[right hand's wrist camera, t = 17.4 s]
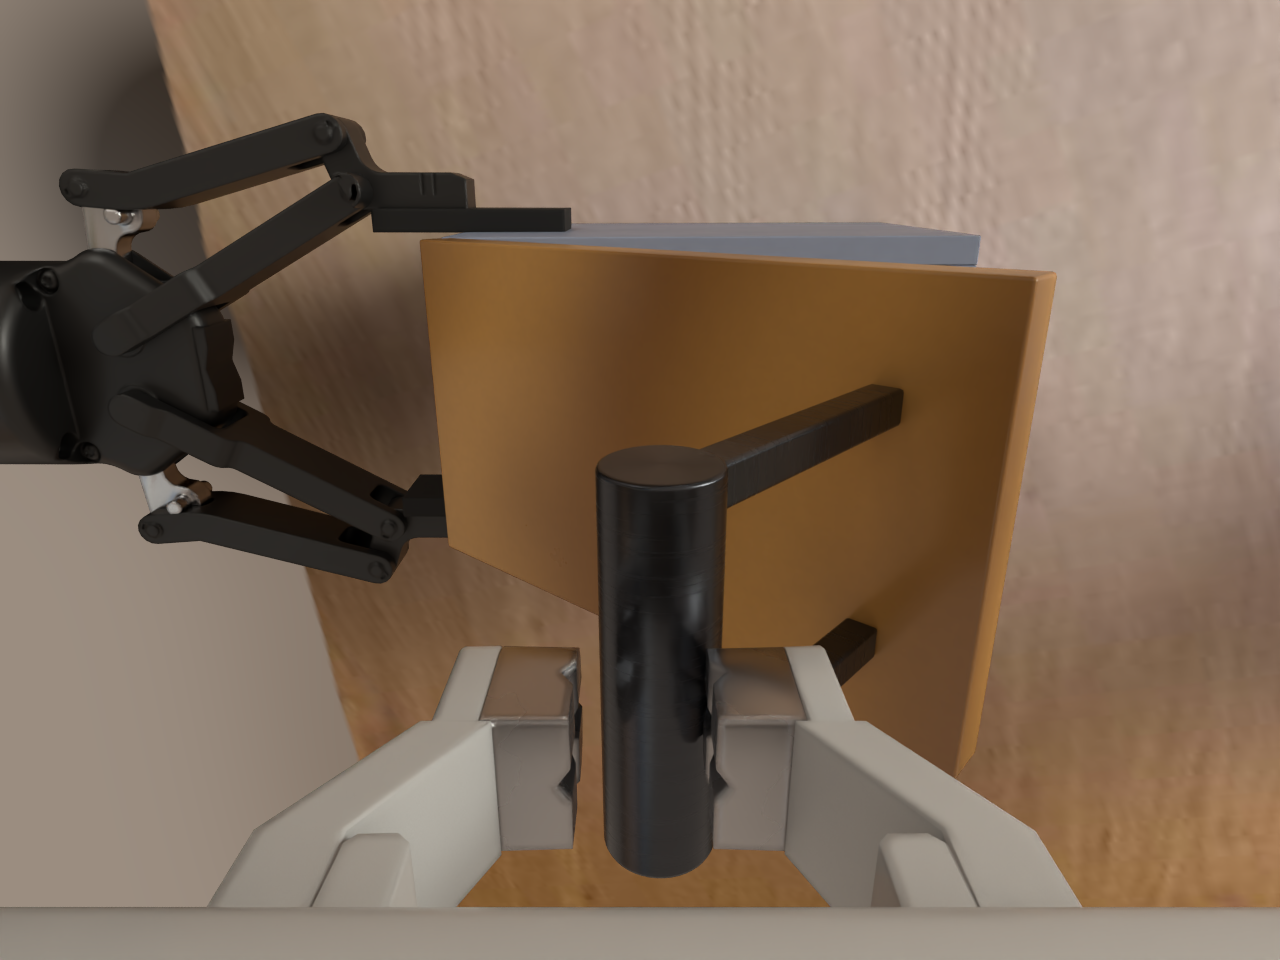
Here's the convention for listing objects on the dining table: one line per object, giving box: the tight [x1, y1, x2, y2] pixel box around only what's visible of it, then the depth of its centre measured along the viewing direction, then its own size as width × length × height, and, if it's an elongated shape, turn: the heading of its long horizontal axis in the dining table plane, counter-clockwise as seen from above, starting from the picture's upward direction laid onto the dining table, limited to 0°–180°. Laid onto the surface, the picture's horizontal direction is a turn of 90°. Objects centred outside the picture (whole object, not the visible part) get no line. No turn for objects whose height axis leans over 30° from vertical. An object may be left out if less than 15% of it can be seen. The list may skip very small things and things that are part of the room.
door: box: [420, 238, 1057, 878], centre depth 17 cm, size 17×10×8 cm
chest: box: [441, 223, 981, 267], centre depth 30 cm, size 16×10×11 cm, turn 90°
